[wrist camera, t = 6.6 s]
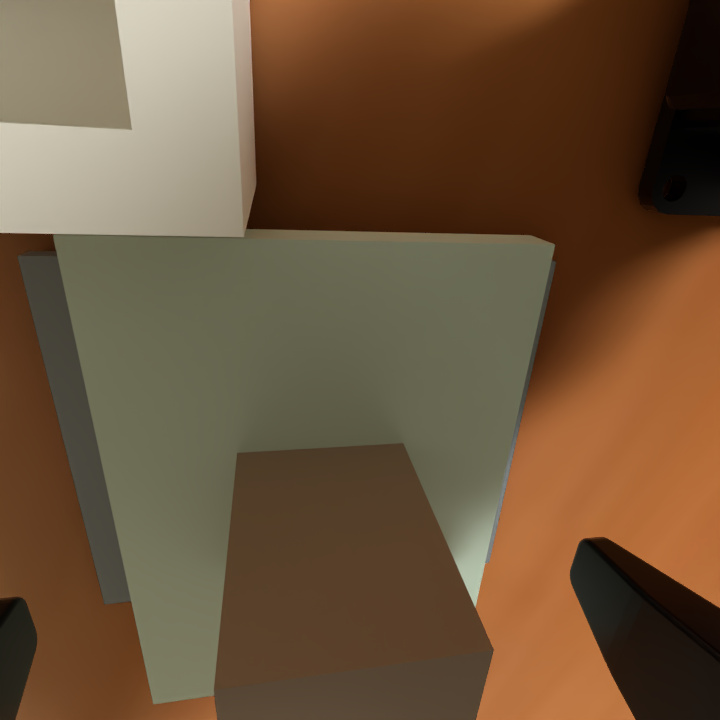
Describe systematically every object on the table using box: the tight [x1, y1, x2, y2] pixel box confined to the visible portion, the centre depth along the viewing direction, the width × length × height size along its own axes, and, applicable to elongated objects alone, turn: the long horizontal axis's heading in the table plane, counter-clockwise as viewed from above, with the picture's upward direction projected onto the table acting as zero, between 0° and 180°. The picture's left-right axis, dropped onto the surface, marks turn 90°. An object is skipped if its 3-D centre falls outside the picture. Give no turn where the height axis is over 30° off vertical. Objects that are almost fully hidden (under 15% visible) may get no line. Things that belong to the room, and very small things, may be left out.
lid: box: [53, 229, 555, 720], centre depth 8 cm, size 10×7×6 cm
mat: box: [17, 251, 556, 604], centre depth 11 cm, size 10×8×1 cm
